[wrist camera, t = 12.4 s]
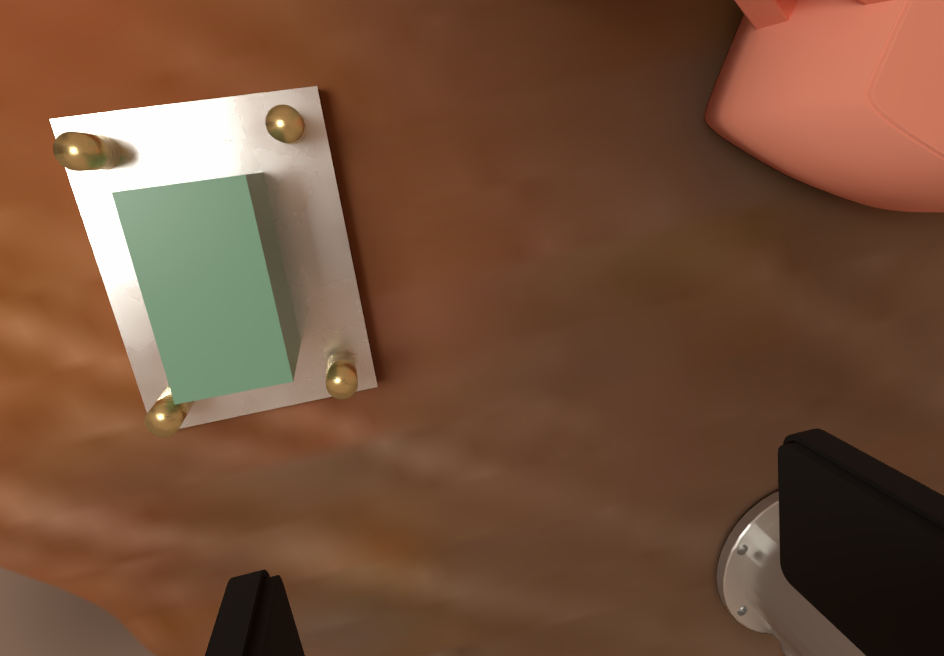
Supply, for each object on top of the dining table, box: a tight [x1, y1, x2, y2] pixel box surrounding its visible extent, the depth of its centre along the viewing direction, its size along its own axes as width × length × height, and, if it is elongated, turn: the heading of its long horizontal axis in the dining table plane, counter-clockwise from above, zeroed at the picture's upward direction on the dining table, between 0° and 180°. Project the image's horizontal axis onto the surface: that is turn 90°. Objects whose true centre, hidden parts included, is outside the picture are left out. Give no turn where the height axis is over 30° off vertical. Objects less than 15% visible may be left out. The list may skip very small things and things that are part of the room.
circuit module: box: [111, 172, 301, 404], centre depth 27 cm, size 9×5×6 cm, turn 8°
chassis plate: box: [49, 86, 378, 437], centre depth 29 cm, size 16×12×4 cm
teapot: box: [704, 0, 944, 213], centre depth 29 cm, size 22×13×14 cm, turn 69°
